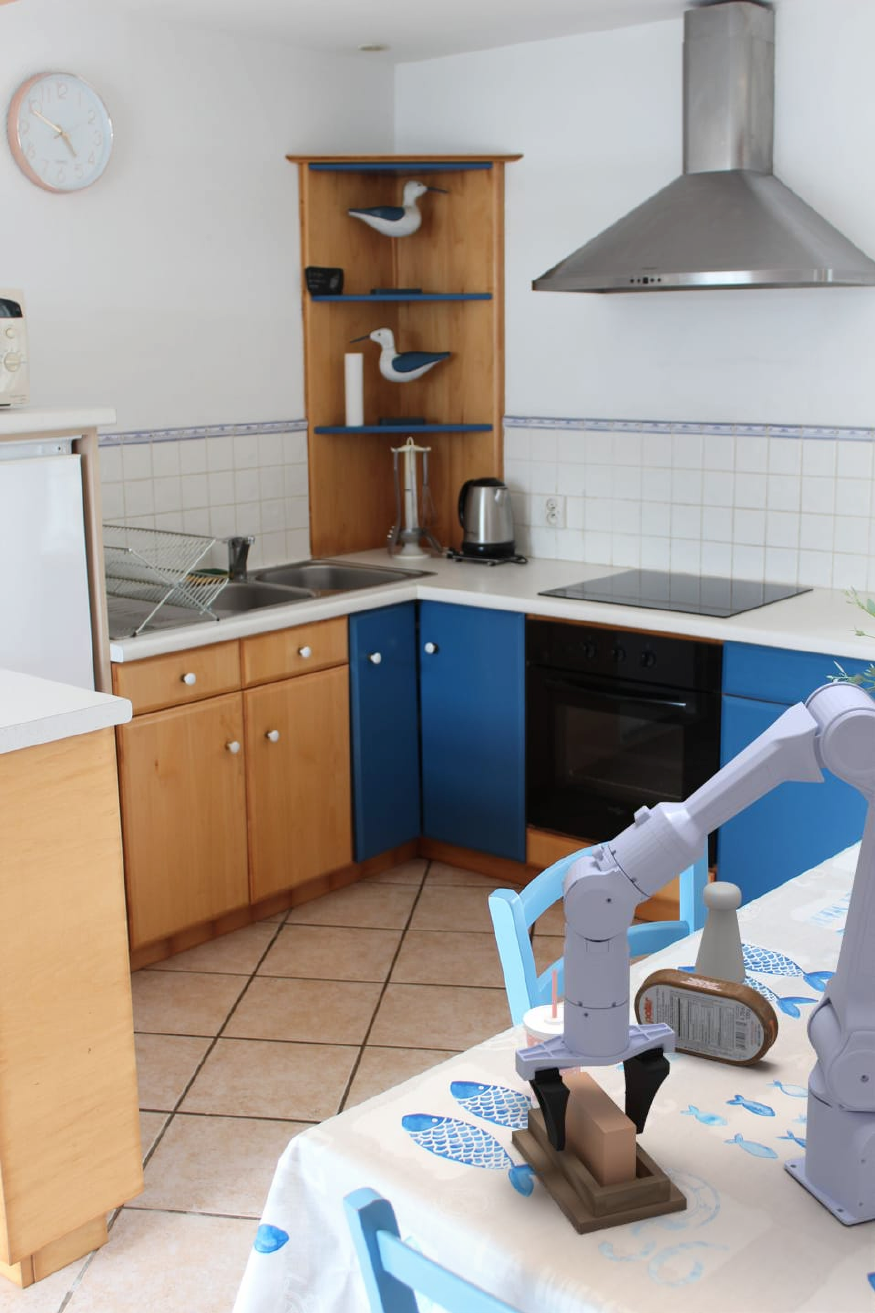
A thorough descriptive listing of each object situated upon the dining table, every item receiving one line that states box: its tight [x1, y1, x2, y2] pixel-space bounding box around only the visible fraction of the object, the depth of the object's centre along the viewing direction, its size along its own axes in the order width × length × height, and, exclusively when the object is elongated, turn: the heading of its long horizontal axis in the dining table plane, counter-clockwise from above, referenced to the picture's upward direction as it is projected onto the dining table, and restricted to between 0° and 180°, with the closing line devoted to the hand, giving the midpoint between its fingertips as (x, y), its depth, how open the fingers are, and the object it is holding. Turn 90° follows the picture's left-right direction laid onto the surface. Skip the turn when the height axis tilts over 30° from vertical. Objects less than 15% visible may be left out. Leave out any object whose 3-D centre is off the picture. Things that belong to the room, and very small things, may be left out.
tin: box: [633, 968, 779, 1067], centre depth 142 cm, size 15×3×8 cm, turn 60°
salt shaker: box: [693, 881, 747, 984], centre depth 156 cm, size 6×6×13 cm
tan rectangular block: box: [562, 1071, 637, 1187], centre depth 121 cm, size 10×3×6 cm, turn 19°
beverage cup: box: [522, 969, 582, 1109], centre depth 132 cm, size 6×6×14 cm
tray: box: [511, 1107, 688, 1235], centre depth 121 cm, size 15×10×3 cm, turn 19°
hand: (595, 1137), depth 121 cm, fingers open, 7 cm apart
